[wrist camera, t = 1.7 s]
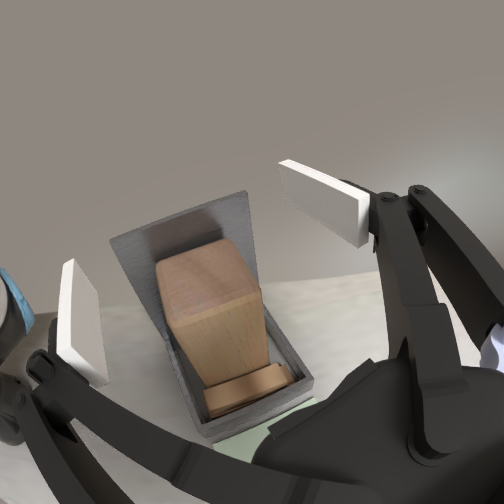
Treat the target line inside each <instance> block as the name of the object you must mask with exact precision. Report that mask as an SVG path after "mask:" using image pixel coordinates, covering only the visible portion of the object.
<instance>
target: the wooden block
mask: <svg viewBox="0 0 504 504" xmlns="http://www.w3.org/2000/svg"><path fill="white" fill-rule="evenodd" d="M155 273H156V277H157V282H158V287H159V291H160V295H161V300H162V304H163V308H164V312H165V316H166V320H167V324H168V325H169V327H170V329H171V331H172V332H173V334H174V336H175V338H176V339H177V341H178V343H179V344H180V346H181V348H182V349H183V351H184V353H185V354H186V356H187V358H188V359H189V361H190V363H191V364H192V366H193V367H194V369H195V371H196V372H197V374H198V375H199V377H200V378H201V380H202V381H203V383H204V384H205V386H206V388H207V389H209V388H212V387H214V386H217V385H220V384H223V383H226V382H229V381H231V380H234V379H237V378H239V377H242V376H245V375H247V374H250V373H253V372H255V371H258V370H260V369H263V368H265V367H268V366H270V362H269V353H268V345H267V336H266V328H265V319H264V311H263V302H262V294H261V288H260V286H259V285H258V283H257V281H256V280H255V278H254V277H253V275H252V273H251V272H250V270H249V268H248V267H247V265H246V263H245V262H244V260H243V258H242V257H241V255H240V253H239V251H238V250H237V248H236V246H235V245H234V243H233V242H232V241H231V240H230V239H221V240H218V241H215V242H212V243H210V244H207V245H204V246H201V247H198V248H195V249H192V250H189V251H186V252H183V253H181V254H178V255H175V256H172V257H169V258H166V259H163V260H161V261H159V262H158V263H157V264H156V268H155Z"/></svg>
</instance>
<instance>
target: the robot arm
mask: <svg viewBox="0 0 504 504" xmlns="http://www.w3.org/2000/svg"><path fill="white" fill-rule="evenodd" d="M278 164H279V170H280V176H281V181H282V187H283V192H284V198H285V202H287V203H288V204H290V205H291V206H293V207H295V208H296V209H298V210H300V211H301V212H303V213H304V214H306V215H308V216H309V217H311V218H313V219H314V220H315V221H317V222H319V223H320V224H322V225H323V226H325V227H326V228H328V229H329V230H331V231H333V232H334V233H336V234H337V235H339V236H340V237H342V238H343V239H345V240H346V241H348V242H349V243H351V244H353V245H354V246H355V247H357V248H360V247H361V246H363V245H364V244H366V243H367V242H368V239H369V238H368V237H369V232H370V233H372V234H373V235H374V246H373V253H375V250H376V254H377V260H378V266H379V272H380V278H381V284H382V291H383V298H384V305H385V313H386V321H387V331H388V341H389V357H388V359H387V360H382V361H379V362H376V363H374V362H373V361H372V360H371V359H370V358H369V359H368V360H366V361H365V362H364V363H363V364H361V365H360V366H359V367H357V368H356V369H355V370H353V371H352V372H351V373H349V374H348V375H347V376H346V377H345V379H344V380H343V381H342V382H341V383H340V385H339V386H338V387H337V388H336V389H335V390H334V392H333V393H332V394H331V395H330V396H329V397H328V398H327V399H326V400H324V401H321V402H318V403H316V404H313V405H310V406H308V407H305V408H302V409H299V410H296V411H294V412H292V413H290V414H289V415H287V416H285V417H284V418H282V419H280V420H279V421H277V422H275V423H274V424H272V425H270V426H268V427H267V429H268V430H269V432H270V433H271V434H268V435H267V436H266V437H265V438H264V440H263V441H262V442H261V443H260V444H259V446H258V448H257V449H256V451H255V453H254V455H253V457H252V461H251V463H248V462H245V461H242V460H239V459H236V458H233V457H231V456H228V455H225V454H222V453H220V452H217V451H214V450H212V449H209V448H207V447H204V446H202V445H199V444H197V443H194V442H189V441H187V440H185V439H182V438H180V437H178V436H176V435H174V434H172V433H170V432H167V431H165V430H163V429H161V428H159V427H157V426H156V425H154V424H152V423H150V422H148V421H146V420H144V419H142V418H141V417H139V416H137V415H135V414H133V413H132V412H130V411H128V410H126V409H125V408H123V407H121V406H120V405H118V404H116V403H115V402H113V401H112V400H110V399H108V398H107V397H105V396H104V395H102V394H101V393H99V392H98V391H96V390H95V389H93V388H92V387H90V386H89V383H90V384H92V385H93V386H94V387H95V388H96V389H97V388H99V387H101V386H103V385H106V384H108V383H110V381H109V376H108V370H107V365H106V359H105V353H104V346H103V339H102V331H101V323H100V314H99V303H98V293H97V292H96V290H95V289H94V287H93V286H92V284H91V283H90V281H89V280H88V279H87V277H86V276H85V274H84V273H83V271H82V270H81V268H80V267H79V265H78V263H77V262H76V260H75V259H74V258H73V259H71V260H70V261H68V262H66V263H64V264H63V272H62V279H61V288H60V297H59V308H58V317H57V318H55V319H54V320H52V323H51V325H50V328H49V338H48V344H49V345H48V353H47V352H46V351H45V350H43V349H40V350H37V351H35V352H34V353H33V354H32V355H31V356H30V358H29V359H28V361H27V365H26V372H27V374H28V375H29V376H30V377H31V378H32V379H33V380H34V381H36V382H37V383H38V384H39V386H38V387H37V388H36V389H35V390H33V391H32V390H31V389H30V387H29V386H28V385H27V384H26V383H24V382H23V381H22V380H20V379H19V378H17V377H14V376H11V375H8V374H5V373H3V372H0V441H2V442H4V443H6V444H8V445H12V446H15V445H19V444H21V443H23V442H24V441H25V442H26V444H27V446H28V448H29V450H30V452H31V454H32V456H33V458H34V460H35V462H36V464H37V466H38V468H39V470H40V472H41V474H42V475H43V477H44V479H45V481H46V482H47V484H48V486H49V487H50V489H51V491H52V492H53V494H54V496H55V497H56V499H57V500H58V502H59V503H60V504H135V503H134V502H133V501H132V500H131V499H130V498H129V497H128V496H127V495H126V494H125V493H124V492H123V491H122V490H121V489H120V488H119V486H118V485H117V484H116V483H115V482H114V481H113V480H112V479H111V477H110V476H109V475H108V474H107V473H106V471H105V470H104V469H103V468H102V467H101V465H100V464H99V463H98V461H97V460H96V459H95V458H94V456H93V455H92V454H91V452H90V451H89V450H88V448H87V447H86V446H85V444H84V443H83V441H82V440H81V439H80V437H79V436H78V434H77V433H76V431H75V430H74V428H73V427H72V425H71V424H70V421H71V420H72V419H73V418H76V419H78V420H79V421H80V422H81V423H82V424H84V425H85V426H86V427H87V428H89V429H90V430H91V431H92V432H94V433H95V434H96V435H98V436H99V437H100V438H102V439H103V440H104V441H106V442H107V443H108V444H110V445H111V446H113V447H114V448H115V449H117V450H118V451H120V452H121V453H123V454H124V455H126V456H127V457H129V458H130V459H132V460H133V461H135V462H137V463H138V464H140V465H141V466H143V467H145V468H146V469H148V470H150V471H152V472H153V473H155V474H157V475H159V476H160V477H162V478H164V479H166V480H167V481H169V482H170V483H171V484H172V485H173V486H175V487H176V488H178V489H180V490H182V491H184V492H186V493H188V494H190V495H192V496H194V497H197V498H199V499H201V500H203V501H206V502H208V503H210V504H504V270H503V268H502V267H501V266H500V265H499V263H498V262H497V261H496V260H495V258H494V257H493V256H492V255H491V253H490V252H489V251H488V250H487V249H486V247H485V246H484V245H483V244H482V243H481V242H480V240H479V239H478V238H477V237H476V236H475V235H474V234H473V233H472V231H471V230H470V229H469V228H468V227H467V226H466V225H465V224H464V223H463V222H462V221H461V220H460V218H458V216H457V215H456V214H455V213H454V212H453V211H452V210H451V209H450V208H449V207H448V206H447V205H445V203H443V201H441V199H440V198H439V197H437V196H436V195H435V194H434V193H433V192H432V191H431V190H430V189H429V188H427V187H424V186H423V185H413V186H410V187H409V190H408V195H407V196H403V197H399V196H398V195H397V194H395V193H391V192H382V193H379V194H376V193H374V192H372V191H369V190H367V189H365V188H363V187H360V186H358V185H355V184H354V183H351V182H350V181H346V180H341V179H335V178H333V177H331V176H328V175H326V174H324V173H321V172H319V171H316V170H314V169H312V168H309V167H306V166H304V165H302V164H299V163H297V162H294V161H292V160H289V159H288V160H285V161H282V162H280V163H278ZM427 224H428V225H427ZM427 265H428V267H429V268H430V270H431V271H432V273H433V274H434V276H435V278H436V279H437V281H438V282H439V284H440V286H441V287H442V289H443V291H444V292H445V294H446V295H447V297H448V299H449V301H450V302H451V304H452V306H453V307H454V309H455V311H456V313H457V315H458V316H459V318H460V320H461V322H462V324H463V326H464V327H465V329H466V331H467V333H468V335H469V336H470V338H471V340H472V342H473V343H474V344H475V346H476V347H477V349H478V350H479V351H480V352H481V360H480V367H470V366H461V361H460V356H459V351H458V347H457V342H456V338H455V334H454V330H453V326H452V322H451V318H450V314H449V311H448V308H447V306H446V304H445V303H439V302H438V299H437V296H436V292H435V289H434V286H433V282H432V279H431V276H430V273H429V270H428V267H427ZM34 322H35V316H34V313H33V311H32V310H31V308H30V305H29V304H28V302H27V301H26V300H25V298H24V296H23V295H22V293H21V291H20V290H19V288H18V287H17V285H16V284H15V283H14V281H13V280H12V278H11V277H10V276H9V274H8V273H7V272H6V270H5V269H4V268H1V267H0V365H1V364H2V363H3V362H4V360H5V359H6V358H7V357H8V355H9V354H10V353H11V352H12V350H13V349H14V348H15V347H16V346H17V344H18V343H19V342H20V341H21V340H22V338H23V337H25V336H26V335H27V334H28V332H29V330H30V329H31V327H32V326H33V325H34ZM272 436H273V437H272Z"/></svg>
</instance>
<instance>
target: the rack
mask: <svg viewBox="0 0 504 504" xmlns="http://www.w3.org/2000/svg"><path fill="white" fill-rule="evenodd" d="M221 239H230V240H231V241H232V242H233V243H234V245H235V246H236V248H237V250H238V251H239V253H240V255H241V257H242V258H243V260H244V262H245V263H246V265H247V267H248V268H249V270H250V272H251V273H252V275H253V277H254V278H255V280H256V281H257V283H258V285H259V280H258V272H257V264H256V256H255V248H254V240H253V232H252V224H251V216H250V208H249V200H248V193H247V192H246V191H245V190H244V191H240V192H237V193H234V194H231V195H228V196H225V197H222V198H219V199H216V200H213V201H210V202H207V203H205V204H202V205H199V206H196V207H193V208H190V209H187V210H185V211H182V212H179V213H176V214H174V215H171V216H169V217H166V218H163V219H160V220H157V221H155V222H152V223H150V224H147V225H144V226H142V227H139V228H136V229H134V230H131V231H129V232H126V233H124V234H121V235H119V236H116V237H114V238H112V239H110V245H111V247H112V249H113V250H114V253H115V255H116V257H117V259H118V261H119V262H120V264H121V266H122V268H123V270H124V272H125V274H126V276H127V278H128V279H129V281H130V283H131V285H132V287H133V288H134V290H135V292H136V294H137V295H138V297H139V299H140V301H141V303H142V304H143V306H144V308H145V310H146V311H147V313H148V315H149V316H150V318H151V320H152V321H153V323H154V324H155V326H156V328H157V329H158V331H159V332H160V334H161V336H162V337H163V339H164V341H165V344H166V347H167V350H168V353H169V356H170V359H171V362H172V365H173V368H174V371H175V373H176V376H177V379H178V382H179V385H180V387H181V390H182V393H183V395H184V398H185V400H186V403H187V406H188V408H189V411H190V413H191V416H192V418H193V420H194V423H195V425H196V428H197V430H198V432H199V433H200V434H202V435H203V436H204V437H205V438H207V437H209V436H212V435H215V434H217V433H220V432H222V431H225V430H227V429H230V428H232V427H234V426H237V425H239V424H242V423H244V422H246V421H248V420H251V419H253V418H255V417H257V416H260V415H262V414H264V413H266V412H268V411H270V410H272V409H274V408H276V407H278V406H280V405H282V404H284V403H286V402H288V401H290V400H292V399H294V398H296V397H298V396H300V395H302V394H304V393H305V392H307V391H309V390H311V389H312V387H313V383H314V378H313V376H312V375H311V373H310V372H309V370H308V369H307V367H306V366H305V365H304V363H303V362H302V360H301V359H300V357H299V356H298V354H297V353H296V351H295V350H294V348H293V347H292V346H291V344H290V343H289V341H288V340H287V338H286V337H285V335H284V334H283V332H282V331H281V329H280V328H279V326H278V325H277V323H276V322H275V320H274V319H273V317H272V316H271V314H270V313H269V311H268V310H267V308H266V307H265V305H264V304H263V311H264V319H265V327H266V329H267V330H268V332H269V333H270V335H271V336H272V338H273V340H274V341H275V343H276V344H277V346H278V347H279V349H280V350H281V352H282V354H283V355H284V357H285V358H286V360H287V361H288V363H289V364H290V366H291V367H292V369H293V370H294V372H295V373H296V375H297V377H298V378H299V380H300V381H298V382H296V383H294V384H292V385H291V386H289V387H287V388H285V389H283V390H281V391H279V392H277V393H275V394H273V395H270V396H268V397H266V398H264V399H262V400H260V401H258V402H256V403H253V404H251V405H249V406H247V407H244V408H242V409H240V410H238V411H235V412H233V413H230V414H228V415H226V416H223V417H221V418H218V419H216V420H213V421H211V422H208V423H205V422H204V419H203V417H202V415H201V412H200V410H199V408H198V405H197V403H196V400H195V398H194V395H193V393H192V390H191V388H190V385H189V383H188V380H187V378H186V375H185V372H184V370H183V367H182V364H181V362H180V359H179V356H178V353H177V350H179V349H182V348H181V346H180V344H179V343H178V341H177V339H176V338H175V336H174V334H173V332H172V331H171V329H170V327H169V325H168V324H167V320H166V316H165V312H164V308H163V304H162V300H161V295H160V291H159V287H158V282H157V277H156V273H155V268H156V264H157V263H158V262H159V261H161V260H163V259H166V258H169V257H172V256H175V255H178V254H181V253H183V252H186V251H189V250H192V249H195V248H198V247H201V246H204V245H207V244H210V243H212V242H215V241H218V240H221Z"/></svg>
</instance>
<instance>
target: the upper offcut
mask: <svg viewBox="0 0 504 504" xmlns="http://www.w3.org/2000/svg"><path fill="white" fill-rule="evenodd" d="M286 387H287V380H286V378H285V376H284V374H283V372H282V370H281V368H280V367H279V365H278V363H275V364H272V365H270V366H268V367H265V368H263V369H260V370H258V371H255V372H253V373H250V374H247V375H245V376H242V377H239V378H237V379H234V380H231V381H229V382H226V383H223V384H220V385H217V386H214V387H212V388H209V389H206V390H203V393H204V396H205V398H206V401H207V404H208V407H209V409H210V411H211V412H212V414H213V415H216V414H219V413H222V412H225V411H228V410H230V409H233V408H236V407H239V406H242V405H244V404H247V403H249V402H252V401H255V400H257V399H260V398H262V397H265V396H267V395H270V394H272V393H274V392H277V391H279V390H281V389H284V388H286Z"/></svg>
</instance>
